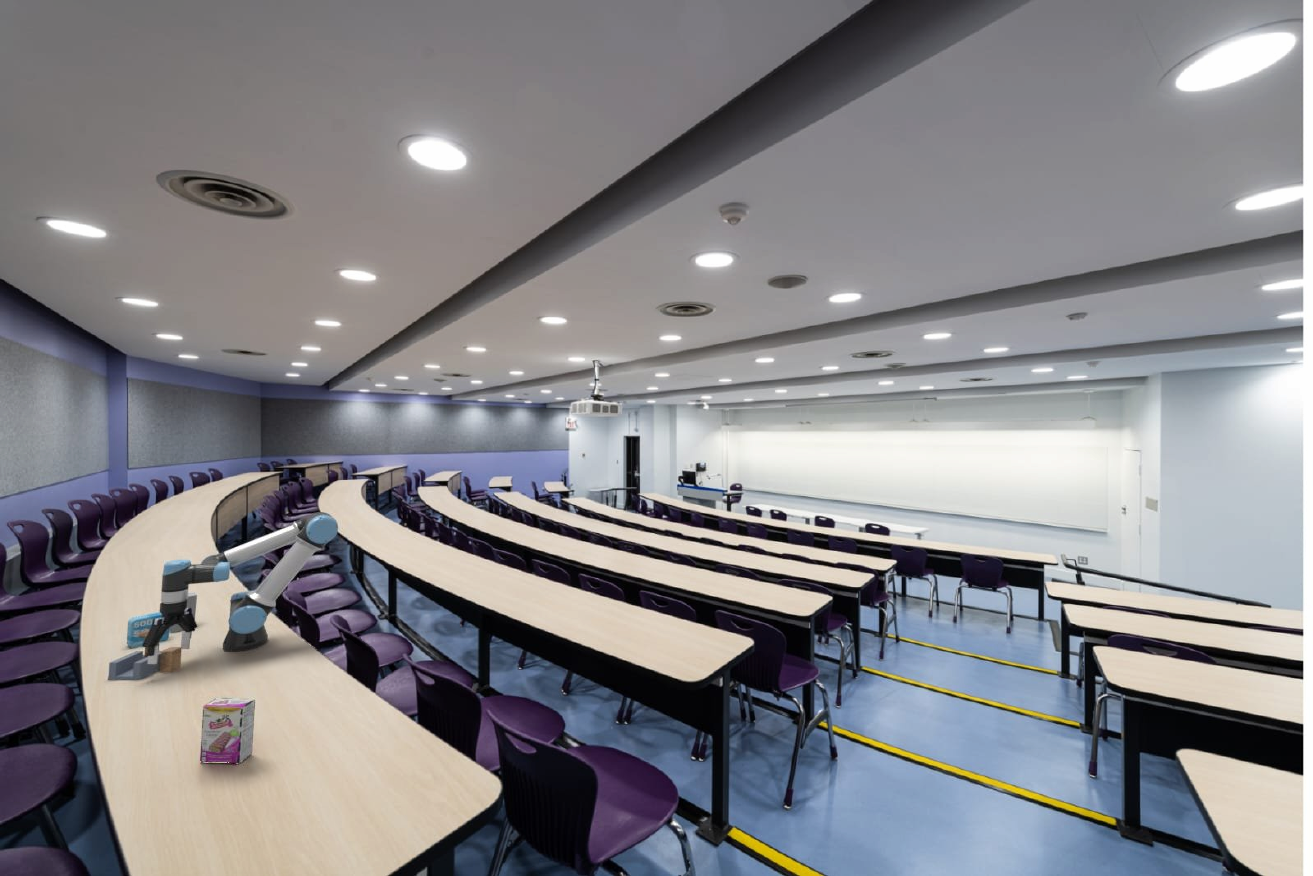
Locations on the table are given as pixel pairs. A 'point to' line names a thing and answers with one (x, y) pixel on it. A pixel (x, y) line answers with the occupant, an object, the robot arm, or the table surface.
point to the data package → (141, 629)
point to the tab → (170, 659)
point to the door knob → (143, 635)
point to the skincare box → (190, 604)
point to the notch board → (132, 667)
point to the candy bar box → (227, 730)
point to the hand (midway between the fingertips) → (169, 656)
